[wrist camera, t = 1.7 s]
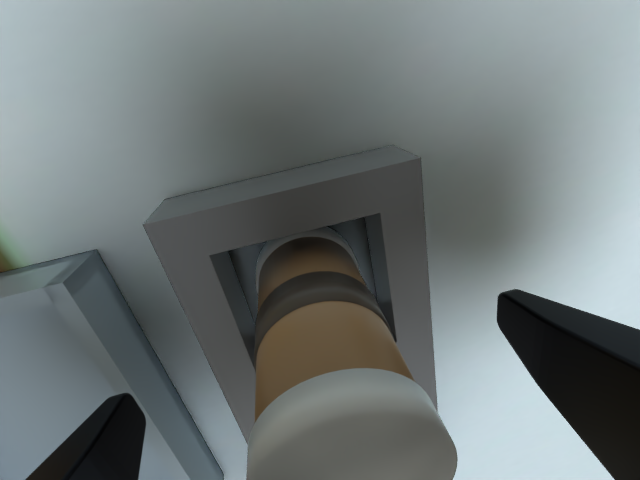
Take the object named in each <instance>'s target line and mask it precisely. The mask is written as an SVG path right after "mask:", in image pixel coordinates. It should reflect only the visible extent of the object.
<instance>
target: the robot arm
mask: <svg viewBox="0 0 640 480" xmlns="http://www.w3.org/2000/svg"><path fill="white" fill-rule="evenodd" d="M497 323H498V326H499V328H500V330H501V331H502V333H503V334H504V336H505V337H506V339H507V340H508V342H509V343H510V345H511V346H512V348H513V349H514V351H515V352H516V354H517V355H518V357H519V358H520V360H521V361H522V363H523V364H524V366H525V367H526V369H527V370H528V372H529V373H530V375H531V376H532V378H533V379H534V380H535V382H536V383H537V385H538V386H539V387H540V388H541V390H542V391H543V392H544V393H545V395H546V396H547V397H548V398H549V400H550V401H551V402H552V403H553V405H554V406H555V407H556V408H557V409H558V411H559V412H560V413H561V414H562V416H563V417H564V418H565V419H566V420H567V422H568V423H569V424H570V425H571V427H572V428H573V429H574V430H575V431H576V433H577V434H578V435H579V436H580V438H581V439H582V440H583V441H584V443H585V444H586V445H587V446H588V447H589V449H590V450H591V451H592V452H593V454H594V455H595V456H596V457H597V458H598V460H599V461H600V462H601V463H602V465H603V466H604V467H605V468H606V469H607V471H608V472H609V473H610V474H611V476H612V477H613V478H614V479H615V480H640V330H639V329H636V328H633V327H630V326H627V325H624V324H621V323H618V322H615V321H612V320H609V319H606V318H603V317H600V316H597V315H594V314H591V313H588V312H584V311H581V310H578V309H575V308H572V307H569V306H566V305H563V304H560V303H557V302H554V301H551V300H548V299H545V298H542V297H539V296H536V295H533V294H530V293H527V292H524V291H521V290H518V289H513V290H509V291H506V292H502V293H500V294H499V296H498V304H497ZM145 429H146V418H145V415H144V413H143V411H142V410H141V408H140V407H139V405H138V404H137V402H136V401H135V399H134V398H133V396H132V395H131V394H130V393H122V394H118V395H114V396H111V397H109V398H107V399H106V400H105V401H104V402H103V403H102V404H101V405H100V406H99V407H98V408H97V409H96V410H95V411H94V412H93V413H92V414H91V415H90V416H89V417H88V418H87V419H86V420H85V421H84V422H83V423H82V424H81V425H80V426H79V427H78V428H77V429H76V430H75V431H74V432H73V433H72V434H71V435H70V436H69V437H68V438H67V439H66V440H65V441H64V442H63V443H62V444H61V445H60V446H59V447H58V448H57V449H56V450H55V451H53V452H52V453H51V454H50V455H49V456H48V457H47V458H46V459H45V460H44V461H43V462H42V463H41V464H40V465H39V466H38V467H37V468H36V469H35V470H34V471H33V472H32V473H31V474H30V475H29V476H28V477H27V478H26V479H25V480H138V479H139V472H140V464H141V457H142V450H143V443H144V436H145Z"/></svg>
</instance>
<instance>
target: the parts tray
mask: <svg viewBox="0 0 640 480" xmlns="http://www.w3.org/2000/svg"><path fill="white" fill-rule="evenodd" d="M122 393H130V394H131V395H132V396H133V398H134V399H135V401H136V402H137V404H138V405H139V407H140V408H141V410H142V411H143V413H144V415H145V418H146V429H145V436H144V443H143V450H142V457H141V464H140V472H139V479H138V480H224V474H223V473H222V471H221V469H220V467H219V466H218V464H217V462H216V460H215V458H214V457H213V455H212V453H211V451H210V450H209V448H208V446H207V444H206V443H205V441H204V439H203V437H202V435H201V434H200V432H199V430H198V428H197V427H196V425H195V423H194V421H193V420H192V418H191V416H190V414H189V413H188V411H187V409H186V407H185V405H184V404H183V402H182V400H181V398H180V397H179V395H178V393H177V391H176V390H175V388H174V386H173V384H172V382H171V381H170V379H169V377H168V375H167V374H166V372H165V370H164V368H163V367H162V365H161V363H160V361H159V359H158V358H157V356H156V354H155V352H154V351H153V349H152V347H151V345H150V344H149V342H148V340H147V338H146V337H145V335H144V333H143V331H142V329H141V328H140V326H139V324H138V322H137V321H136V319H135V317H134V315H133V314H132V312H131V310H130V308H129V306H128V305H127V303H126V301H125V299H124V298H123V296H122V294H121V292H120V291H119V289H118V287H117V285H116V283H115V282H114V280H113V278H112V276H111V275H110V273H109V271H108V269H107V268H106V266H105V264H104V262H103V261H102V259H101V257H100V255H99V253H98V252H97V250H93V251H88V252H84V253H80V254H76V255H72V256H68V257H64V258H60V259H56V260H52V261H47V262H43V263H39V264H35V265H31V266H27V267H23V268H19V269H15V270H10V271H6V272H2V273H0V480H25V479H26V478H27V477H28V476H29V475H30V474H31V473H32V472H33V471H34V470H35V469H36V468H37V467H38V466H39V465H40V464H41V463H42V462H43V461H44V460H45V459H46V458H47V457H48V456H49V455H50V454H51V453H52V452H53V451H55V450H56V449H57V448H58V447H59V446H60V445H61V444H62V443H63V442H64V441H65V440H66V439H67V438H68V437H69V436H70V435H71V434H72V433H73V432H74V431H75V430H76V429H77V428H78V427H79V426H80V425H81V424H82V423H83V422H84V421H85V420H86V419H87V418H88V417H89V416H90V415H91V414H92V413H93V412H94V411H95V410H96V409H97V408H98V407H99V406H100V405H101V404H102V403H103V402H104V401H105V400H106V399H107V398H109V397H111V396H114V395H118V394H122Z"/></svg>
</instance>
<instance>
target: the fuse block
mask: <svg viewBox="0 0 640 480" xmlns="http://www.w3.org/2000/svg"><path fill="white" fill-rule="evenodd" d="M362 217H365V222H366V229H367V235H368V242H369V248H370V255H371V262H372V268H373V275H374V281H375V288H376V294H377V301H378V305H379V307H380V309H381V311H382V313H383V315H384V317H385V319H386V321H387V323H388V324H389V326H390V329H391V331H392V334H393V338H394V341H395V343H396V345H397V347H398V349H399V351H400V353H401V355H402V357H403V359H404V361H405V363H406V365H407V367H408V368H409V370H410V372H411V374H412V376H413V378H414V380H415V382H416V383H417V384H418V385H420V386H421V387H422V389H423V390H424V391H425V392H426V393H427V395H428V396H429V398H430V399H431V401H432V403H433V405H434V407H435V409H436V411H437V412H438V410H437V395H436V380H435V366H434V351H433V336H432V321H431V306H430V291H429V276H428V261H427V246H426V231H425V216H424V201H423V187H422V172H421V158H420V157H418V156H416V155H413V154H411V153H409V152H407V151H405V150H403V149H401V148H398V147H396V146H394V145H391V146H387V147H383V148H378V149H374V150H370V151H366V152H362V153H358V154H353V155H349V156H345V157H341V158H337V159H332V160H328V161H324V162H320V163H316V164H311V165H307V166H303V167H299V168H295V169H290V170H286V171H282V172H278V173H274V174H269V175H265V176H261V177H257V178H253V179H248V180H244V181H240V182H236V183H232V184H228V185H223V186H219V187H215V188H211V189H207V190H202V191H198V192H194V193H190V194H186V195H181V196H177V197H173V198H169V199H165V200H164V201H163V202H162V203H161V204H160V206H159V207H158V208H157V209H156V210H155V211H154V213H153V214H152V215H151V216H150V217H149V218H148V219H147V221H146V222H145V223H144V224H143V226H144V229H145V231H146V233H147V235H148V237H149V239H150V241H151V243H152V245H153V247H154V249H155V252H156V254H157V256H158V258H159V260H160V262H161V264H162V266H163V268H164V270H165V272H166V275H167V277H168V279H169V281H170V283H171V285H172V287H173V289H174V291H175V293H176V295H177V298H178V300H179V302H180V304H181V306H182V308H183V310H184V312H185V314H186V316H187V318H188V321H189V323H190V325H191V327H192V329H193V331H194V333H195V335H196V337H197V339H198V342H199V344H200V346H201V348H202V350H203V352H204V354H205V356H206V358H207V360H208V362H209V365H210V367H211V369H212V371H213V373H214V375H215V377H216V379H217V381H218V383H219V385H220V388H221V390H222V392H223V394H224V396H225V398H226V400H227V402H228V404H229V406H230V408H231V411H232V413H233V415H234V417H235V419H236V421H237V423H238V425H239V427H240V429H241V432H242V434H243V436H244V438H245V440H246V442H247V444H248V441H249V437H250V433H251V430H252V428H253V426H254V424H255V390H256V372H255V367H254V350H255V324H254V321H253V318H252V316H251V313H250V310H249V308H248V305H247V302H246V299H245V297H244V294H243V291H242V289H241V286H240V283H239V280H238V278H237V275H236V272H235V270H234V267H233V264H232V261H231V259H230V256H229V253H228V251H229V250H233V249H237V248H241V247H245V246H249V245H253V244H257V243H261V242H265V241H269V240H273V239H277V238H281V237H285V236H289V235H293V234H297V233H301V232H305V231H309V230H314V229H318V228H322V227H326V226H330V225H334V224H338V223H342V222H346V221H350V220H354V219H358V218H362Z"/></svg>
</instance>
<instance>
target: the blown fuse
mask: <svg viewBox="0 0 640 480" xmlns="http://www.w3.org/2000/svg"><path fill="white" fill-rule="evenodd" d="M255 284H256V291H257V295H258V314H257V318H256V325H255V350H254V367H255V372H256V390H255V424H254V426H253V428H252V430H251V433H250V437H249V441H248V457H247V479H246V480H453V477H454V475H455V472H456V468H457V452H456V448H455V445H454V443H453V441H452V439H451V437H450V435H449V433H448V431H447V429H446V428H445V426H444V424H443V422H442V420H441V418H440V416H439V414H438V412H437V411H436V409H435V407H434V405H433V403H432V401H431V399H430V398H429V396H428V395H427V393H426V392H425V391H424V390H423V389H422V387H421V386H420V385H418V384H417V383H416V382H415V380H414V378H413V376H412V374H411V372H410V370H409V368H408V367H407V365H406V363H405V361H404V359H403V357H402V355H401V353H400V351H399V349H398V347H397V345H396V343H395V341H394V338H393V334H392V331H391V329H390V326H389V324H388V323H387V321H386V319H385V317H384V315H383V313H382V311H381V309H380V307H379V305H378V303H377V301H376V299H375V297H374V296H373V294H372V293H371V291H370V290H369V289H368V288H367V286H366V284H365V282H364V280H363V278H362V276H361V274H360V271H359V265H358V262H357V260H356V257H355V256H354V254H353V252H352V250H351V248H350V246H349V245H348V243H347V242H346V240H345V239H344V238H343V237H342V236H341V235H340V234H339V233H337V232H336V231H334V230H332V229H330V228H328V227H322V228H318V229H314V230H309V231H305V232H301V233H297V234H293V235H289V236H285V237H281V238H277V239H273V240H269V241H267V242H266V244H265V245H264V246H263V248H262V250H261V252H260V254H259V256H258V259H257V264H256V281H255Z"/></svg>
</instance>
